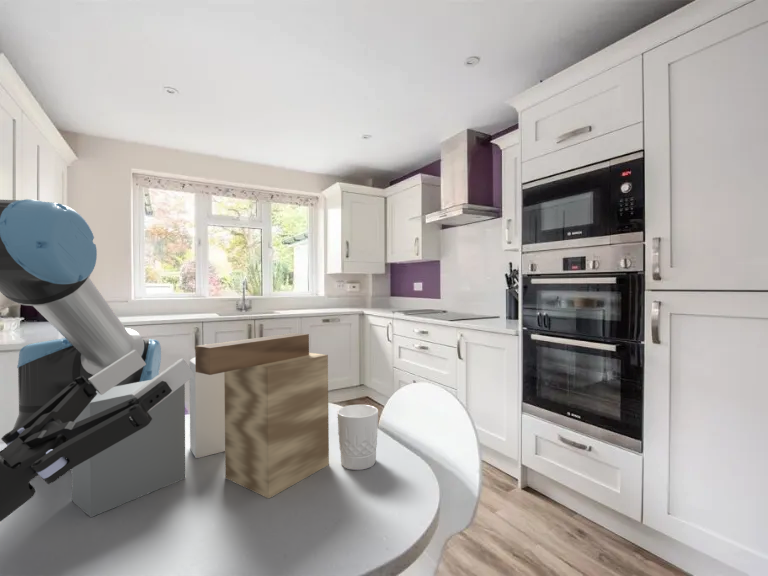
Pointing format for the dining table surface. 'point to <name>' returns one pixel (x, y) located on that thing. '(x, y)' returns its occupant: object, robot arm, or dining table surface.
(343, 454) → the white cup
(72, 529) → the dining table surface
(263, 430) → the oak block
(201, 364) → the bar
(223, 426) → the milk
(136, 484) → the grey block
